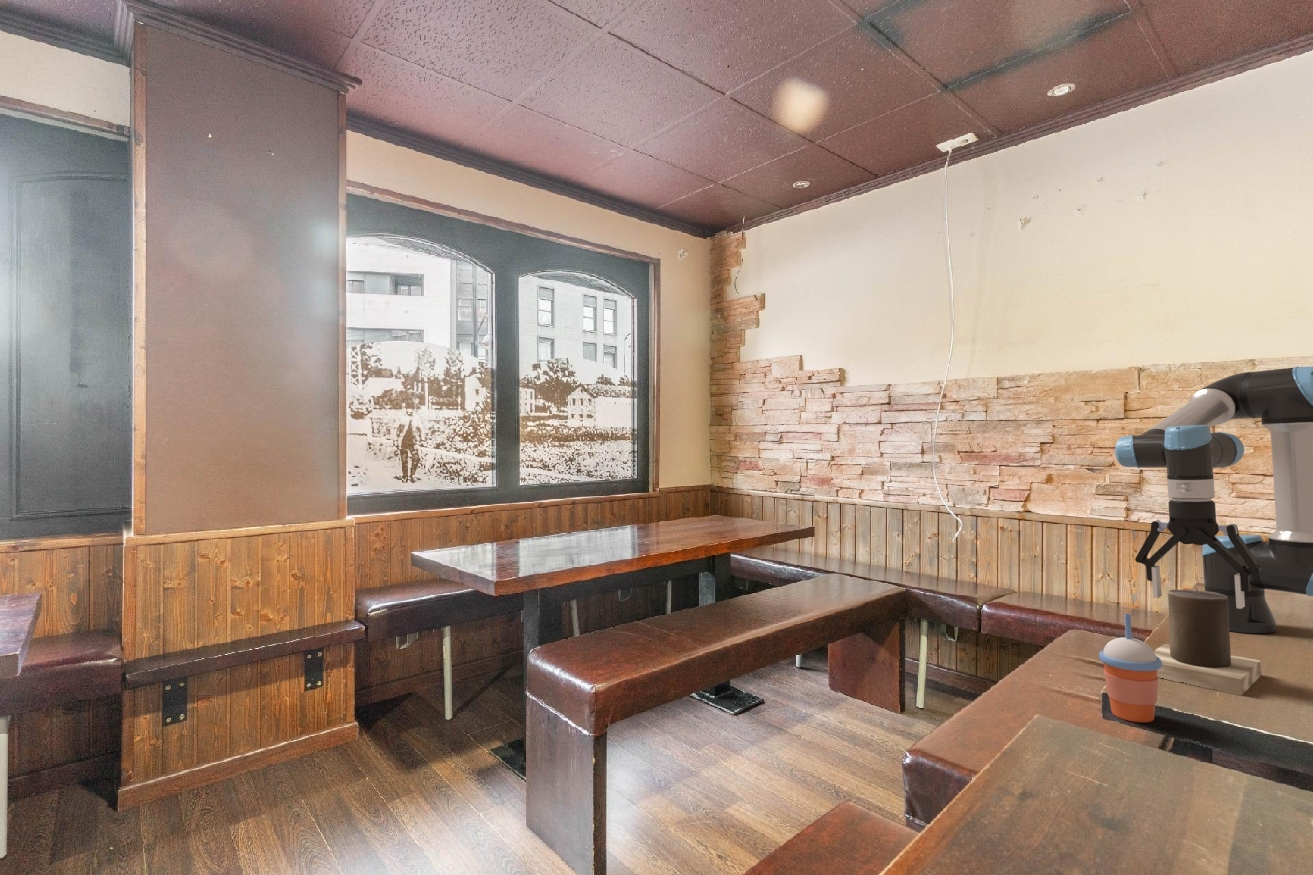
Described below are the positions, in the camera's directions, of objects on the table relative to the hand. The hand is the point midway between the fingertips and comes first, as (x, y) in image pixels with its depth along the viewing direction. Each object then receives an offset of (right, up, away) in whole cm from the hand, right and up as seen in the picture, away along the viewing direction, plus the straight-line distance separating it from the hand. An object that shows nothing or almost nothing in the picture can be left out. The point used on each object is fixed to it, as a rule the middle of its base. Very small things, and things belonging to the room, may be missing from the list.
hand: (1197, 601), depth 135 cm
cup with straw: (-27, -16, -19) cm, 37 cm away
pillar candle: (0, -12, 0) cm, 12 cm away
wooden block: (0, -15, 0) cm, 15 cm away
